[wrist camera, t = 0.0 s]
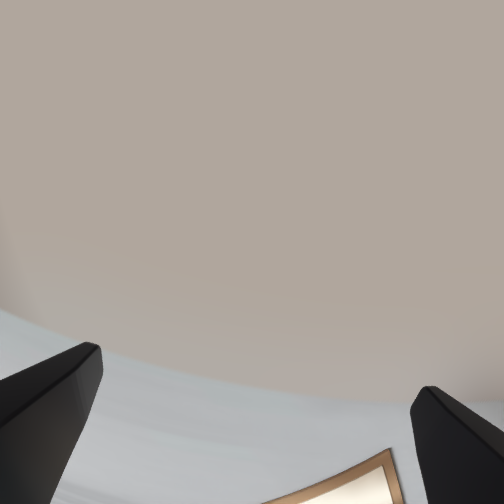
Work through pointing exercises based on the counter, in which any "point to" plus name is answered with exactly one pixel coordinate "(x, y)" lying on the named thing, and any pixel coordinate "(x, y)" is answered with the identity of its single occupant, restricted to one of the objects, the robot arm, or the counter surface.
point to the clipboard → (353, 486)
